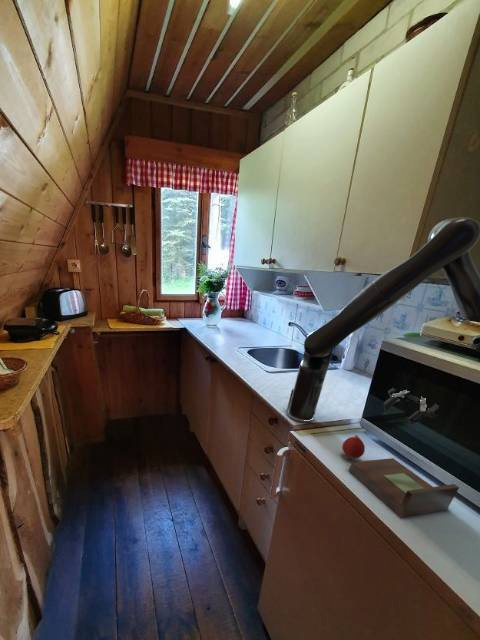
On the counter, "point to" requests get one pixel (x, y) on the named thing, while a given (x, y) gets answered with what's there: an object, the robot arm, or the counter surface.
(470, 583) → the counter surface
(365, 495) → the counter surface
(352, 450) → the red pomegranate
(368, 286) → the robot arm
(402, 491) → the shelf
